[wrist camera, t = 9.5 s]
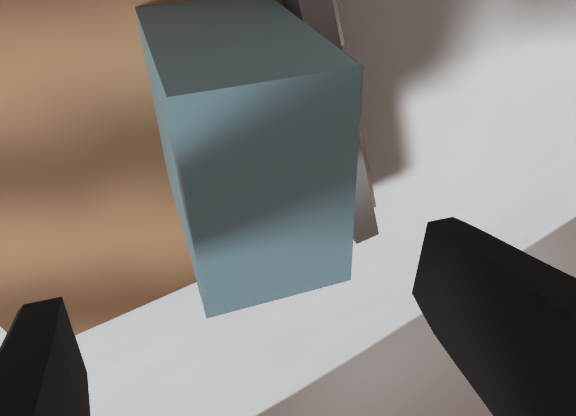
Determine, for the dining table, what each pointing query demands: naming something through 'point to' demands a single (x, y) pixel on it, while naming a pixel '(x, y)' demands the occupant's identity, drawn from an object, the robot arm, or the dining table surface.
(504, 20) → the dining table surface
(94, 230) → the price rail shelf
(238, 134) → the carton
